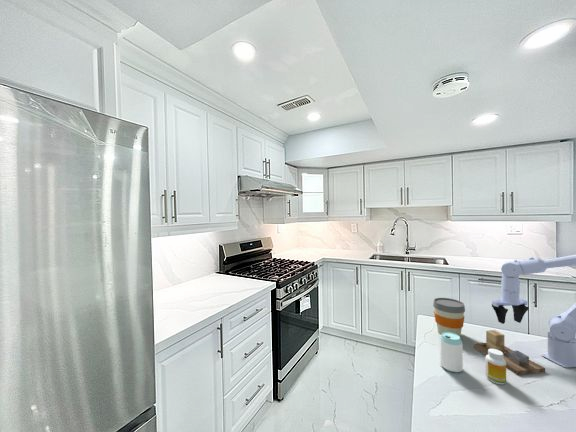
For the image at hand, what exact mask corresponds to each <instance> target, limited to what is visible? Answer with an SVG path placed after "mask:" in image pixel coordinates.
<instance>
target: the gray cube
mask: <svg viewBox="0 0 576 432" xmlns="http://www.w3.org/2000/svg"><path fill="white" fill-rule="evenodd" d="M508 359H509V360H510V361H512V362H514V363H515V364H517V365H519V366H521V365H529V360H530V356H529V355H527V354H525V353H523V352H521V351H519V350H513V351H508Z"/></svg>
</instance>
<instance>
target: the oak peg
mask: <svg viewBox="0 0 576 432" xmlns="http://www.w3.org/2000/svg"><path fill="white" fill-rule="evenodd" d="M485 332H486V333H485V334H486V336H485V338H486V339H485V340H486V341H485V343H486V348H487V349H496V350H499V351H501V352H502V353H505V352H504V346H505V334H504V333H501V332H499V331H497V330H496V329H491V330H486V331H485Z"/></svg>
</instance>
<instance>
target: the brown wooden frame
mask: <svg viewBox="0 0 576 432" xmlns="http://www.w3.org/2000/svg"><path fill="white" fill-rule="evenodd" d="M473 348H474V349H476V350H477V351H479V352H480V353H482V354H483V355H485V356H486V355H488V349H487V348H486V342H480V343H479V342H478V343H473ZM508 351H514V350H513V349H511V348H510V347H507V346H506V345H504V352H505V353H503V359H504V360H505V361H506V370H508V371H510V372H512V373H514V374H515V375H516V376H521V375H532V374H542V373H546V368H545V367H543V366H542V365H540V364H539V363H538V362H537V363H536V362H535V361H533V360H531V359H529V365H521V366H519V365H517V364H515V363H514V362H512V361H510V360H509V359H508Z"/></svg>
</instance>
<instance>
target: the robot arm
mask: <svg viewBox="0 0 576 432" xmlns="http://www.w3.org/2000/svg"><path fill="white" fill-rule="evenodd" d="M572 266H573V267H574V266H576V254H572V255H571V254H570V255H566V256H560V257H554V258H550V259H549V258H548V259H542V258H539V257H533V256H530V257H528V259H522V260H520V259H519V260H517V259H514V260H513V261H505V262H504V263H503V264H502V265H501V268H500V269H501V282H500V283H501V284H500V286H501V287H500V289H501V291H500V297H499V298H498V299H495V300H491V307H492V309H493V310H494V312H495V314H496V318H497V321H498V323H500V324H501V325H504V324H505V322H506V316H507V313H508V311H509V309H508V308H505V306H506V307H508V306H511V307H512V312H513V320H514V322H517V323H519V324H521V323H522V320H523V317H524V315H525V314H526V313H527V312H528V311H529V306H528V302H529V301H528V300H526V299H524V298H522V299H521V298H520V285H521V284H520V278H519V277H520V275H522V276H525V275H532V274H541V273H545V271H546V270H547V269H553V268H555V269H556V268H565V267H572ZM548 325H549V331H548V332H547V353H541V354H540V356H542V357H543V358H545V359H547V360H549V361H552V362H553V363H555V364H557V365H559V366H561V367H563V368H568V369H569V368H576V302H575V303H574V304H573V305H572V306H570V307H569V308H568V309H567V310H566V311H564V312H561V313H560V314H559V315H556V316H552V317H550V318H549V320H548Z"/></svg>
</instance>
